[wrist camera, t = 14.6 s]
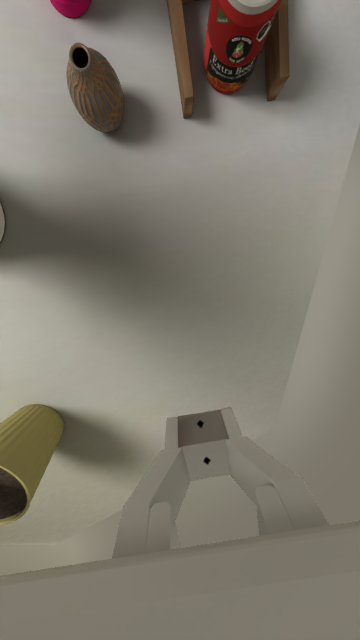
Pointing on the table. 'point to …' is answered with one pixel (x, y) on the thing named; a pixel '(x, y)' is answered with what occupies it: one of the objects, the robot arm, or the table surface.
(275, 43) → the bay
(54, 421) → the potted cactus
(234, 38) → the canned food
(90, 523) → the table surface
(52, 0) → the pepper mill
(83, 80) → the vase
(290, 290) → the table surface
